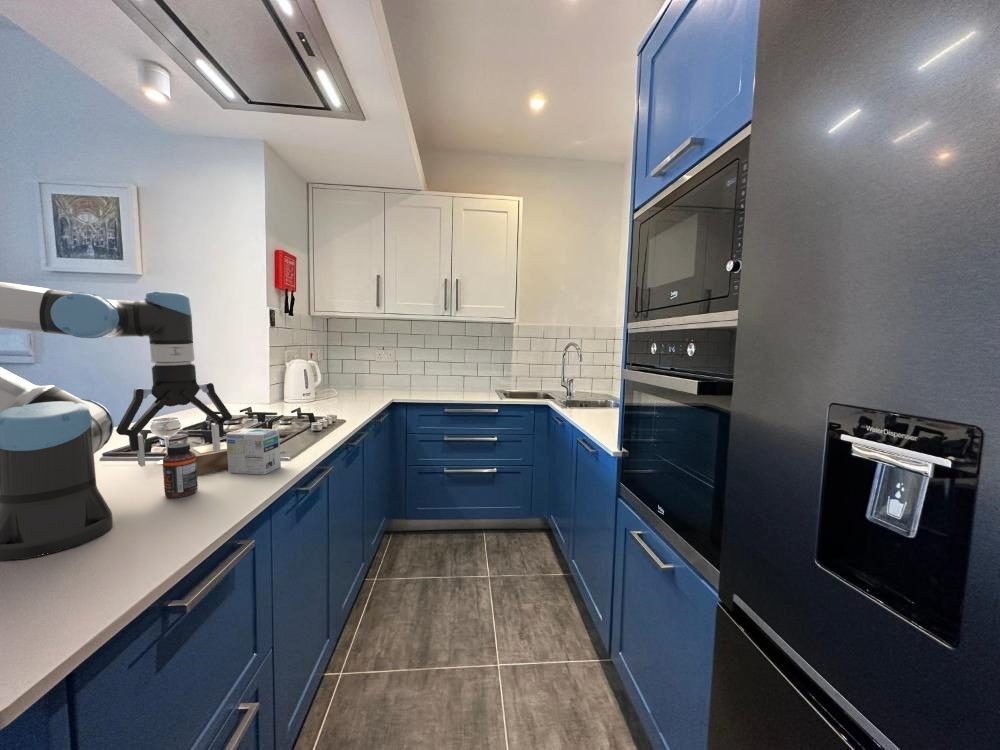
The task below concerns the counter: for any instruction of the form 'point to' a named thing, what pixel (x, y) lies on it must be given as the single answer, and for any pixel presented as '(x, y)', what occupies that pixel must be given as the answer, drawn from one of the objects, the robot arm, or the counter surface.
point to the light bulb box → (253, 451)
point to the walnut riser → (210, 458)
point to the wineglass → (165, 429)
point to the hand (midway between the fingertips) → (181, 457)
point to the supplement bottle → (179, 471)
